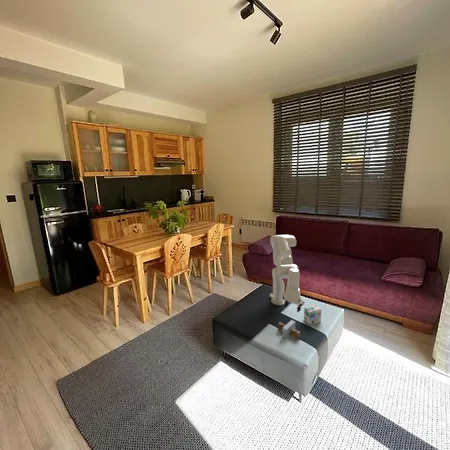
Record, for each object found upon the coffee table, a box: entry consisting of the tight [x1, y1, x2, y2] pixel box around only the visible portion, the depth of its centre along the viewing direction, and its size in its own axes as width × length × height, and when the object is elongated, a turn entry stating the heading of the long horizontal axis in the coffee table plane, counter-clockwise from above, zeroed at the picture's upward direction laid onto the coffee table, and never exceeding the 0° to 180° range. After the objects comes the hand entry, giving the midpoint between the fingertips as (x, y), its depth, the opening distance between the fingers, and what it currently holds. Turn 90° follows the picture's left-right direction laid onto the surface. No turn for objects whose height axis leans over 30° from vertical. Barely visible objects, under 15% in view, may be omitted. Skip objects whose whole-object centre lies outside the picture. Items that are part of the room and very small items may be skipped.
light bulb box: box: [303, 304, 322, 325], centre depth 179 cm, size 11×7×11 cm, turn 105°
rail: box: [277, 321, 301, 341], centre depth 167 cm, size 16×2×5 cm, turn 44°
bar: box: [281, 319, 296, 339], centre depth 167 cm, size 3×12×7 cm, turn 134°
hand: (292, 308), depth 166 cm, fingers open, 9 cm apart
